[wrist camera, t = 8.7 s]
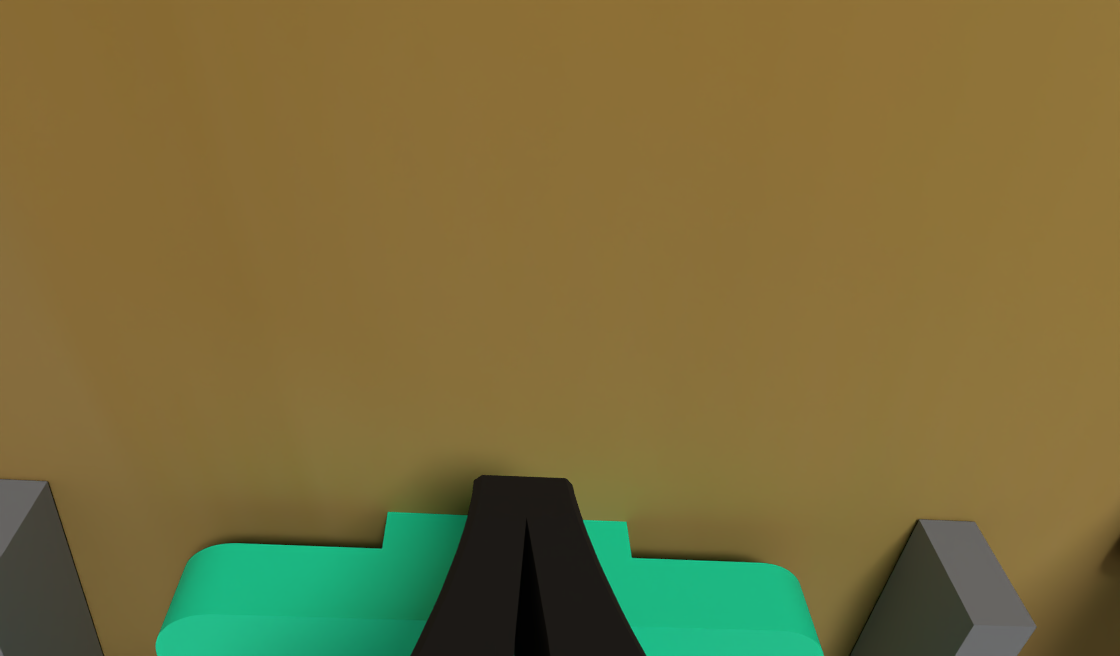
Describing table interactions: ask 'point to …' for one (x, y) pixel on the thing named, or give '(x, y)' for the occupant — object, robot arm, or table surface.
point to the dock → (881, 652)
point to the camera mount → (417, 579)
